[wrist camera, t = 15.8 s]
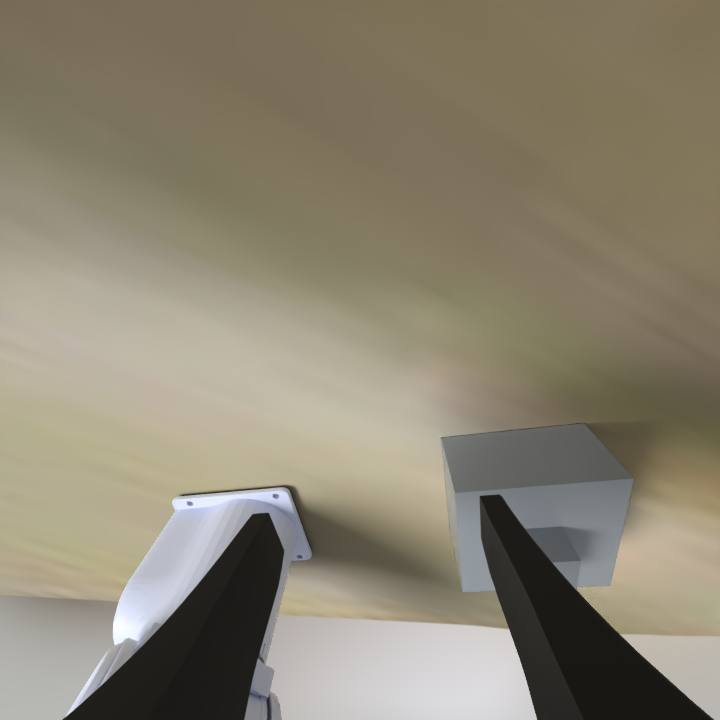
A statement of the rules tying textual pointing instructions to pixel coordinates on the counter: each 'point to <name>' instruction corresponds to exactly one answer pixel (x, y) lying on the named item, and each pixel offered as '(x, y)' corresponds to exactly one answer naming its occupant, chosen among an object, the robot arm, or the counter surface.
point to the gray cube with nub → (539, 498)
